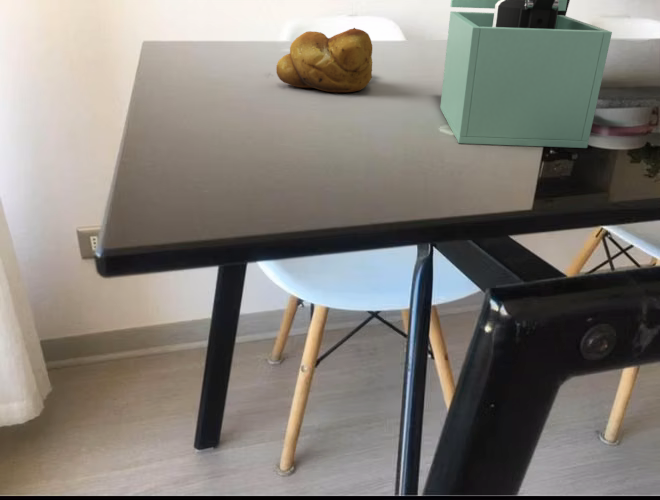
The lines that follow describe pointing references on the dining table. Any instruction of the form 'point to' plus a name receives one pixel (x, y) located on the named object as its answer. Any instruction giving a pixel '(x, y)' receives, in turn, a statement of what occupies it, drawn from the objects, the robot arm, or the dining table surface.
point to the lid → (491, 4)
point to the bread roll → (328, 61)
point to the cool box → (522, 81)
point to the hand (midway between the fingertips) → (521, 46)
